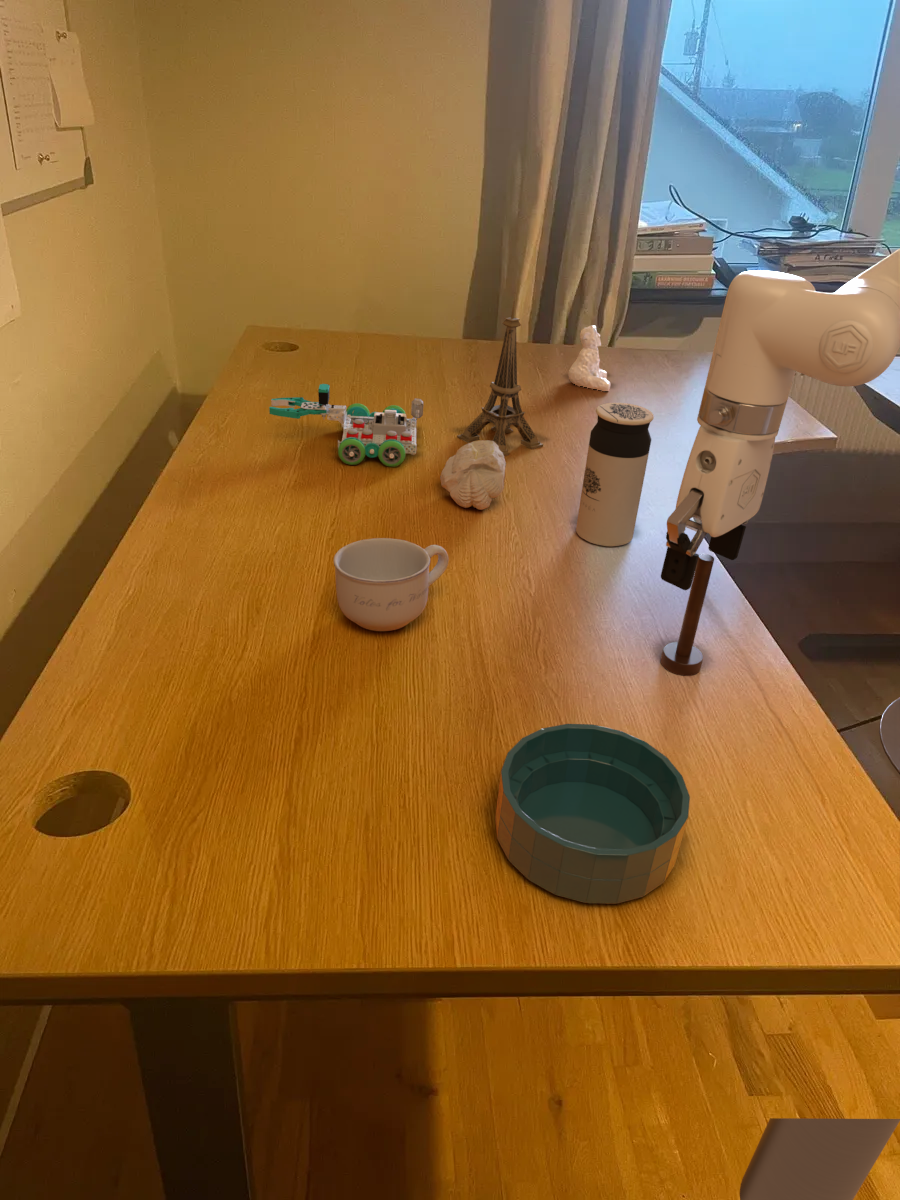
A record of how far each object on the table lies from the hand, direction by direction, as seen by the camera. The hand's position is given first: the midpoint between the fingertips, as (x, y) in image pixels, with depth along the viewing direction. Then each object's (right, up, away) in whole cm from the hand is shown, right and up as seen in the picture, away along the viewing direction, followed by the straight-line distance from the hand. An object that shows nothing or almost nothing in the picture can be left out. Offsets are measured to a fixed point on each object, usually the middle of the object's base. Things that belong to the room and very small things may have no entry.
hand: (699, 568), depth 93 cm
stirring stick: (0, -10, +6) cm, 12 cm away
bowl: (-15, -23, -17) cm, 32 cm away
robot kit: (-43, +22, +55) cm, 73 cm away
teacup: (-33, -5, +11) cm, 35 cm away
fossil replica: (-23, +12, +40) cm, 47 cm away
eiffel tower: (-17, +24, +61) cm, 67 cm away
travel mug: (-4, +6, +32) cm, 33 cm away
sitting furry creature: (+3, +41, +92) cm, 101 cm away
